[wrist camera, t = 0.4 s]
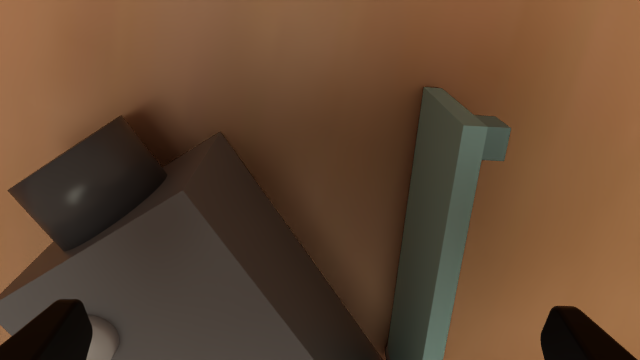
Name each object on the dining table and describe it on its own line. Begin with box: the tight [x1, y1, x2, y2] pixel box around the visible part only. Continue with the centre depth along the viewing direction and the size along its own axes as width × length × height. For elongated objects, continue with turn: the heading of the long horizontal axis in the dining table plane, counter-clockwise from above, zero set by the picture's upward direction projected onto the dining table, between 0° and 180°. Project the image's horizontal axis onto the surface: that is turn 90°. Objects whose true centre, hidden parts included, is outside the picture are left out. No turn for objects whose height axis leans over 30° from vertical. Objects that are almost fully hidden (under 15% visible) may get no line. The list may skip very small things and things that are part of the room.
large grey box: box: [0, 115, 382, 360], centre depth 22 cm, size 19×9×8 cm, turn 31°
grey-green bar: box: [385, 87, 511, 360], centre depth 22 cm, size 15×2×6 cm, turn 176°
